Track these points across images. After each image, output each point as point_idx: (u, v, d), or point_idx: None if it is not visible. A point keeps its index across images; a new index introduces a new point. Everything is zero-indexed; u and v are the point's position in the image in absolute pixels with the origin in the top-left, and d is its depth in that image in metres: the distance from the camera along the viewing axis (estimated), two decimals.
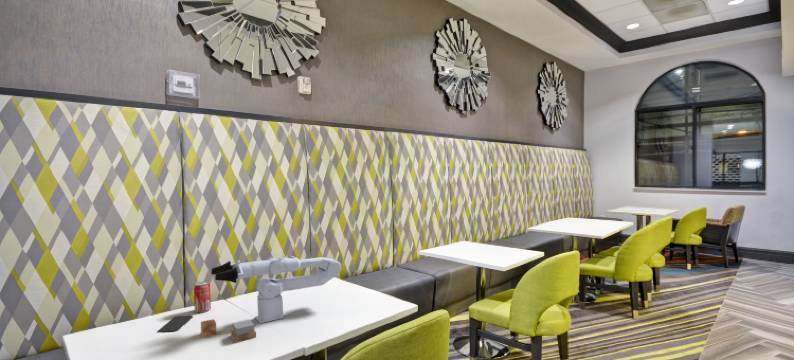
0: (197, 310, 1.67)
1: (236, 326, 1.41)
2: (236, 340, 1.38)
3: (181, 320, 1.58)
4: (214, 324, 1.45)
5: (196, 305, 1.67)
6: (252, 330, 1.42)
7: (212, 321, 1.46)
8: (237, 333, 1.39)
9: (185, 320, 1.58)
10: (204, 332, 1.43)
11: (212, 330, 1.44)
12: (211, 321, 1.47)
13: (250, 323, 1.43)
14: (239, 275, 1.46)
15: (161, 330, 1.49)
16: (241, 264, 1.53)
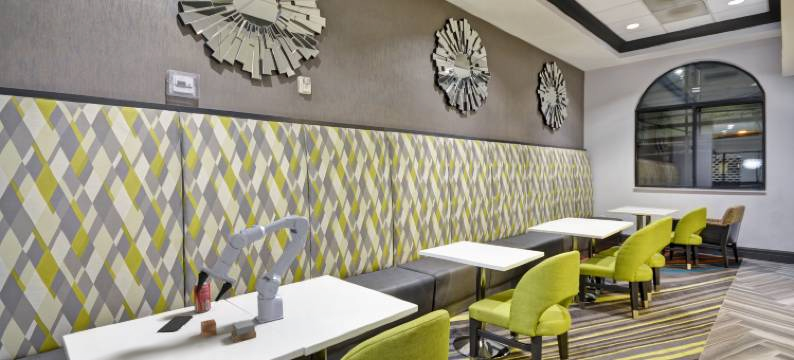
0: (197, 310, 1.67)
1: (237, 326, 1.41)
2: (236, 340, 1.38)
3: (181, 320, 1.58)
4: (214, 324, 1.45)
5: (196, 305, 1.67)
6: (253, 330, 1.42)
7: (212, 321, 1.46)
8: (238, 333, 1.39)
9: (185, 320, 1.58)
10: (204, 332, 1.43)
11: (212, 330, 1.44)
12: (211, 321, 1.47)
13: (251, 323, 1.44)
14: (234, 285, 1.48)
15: (161, 330, 1.49)
16: (220, 272, 1.46)
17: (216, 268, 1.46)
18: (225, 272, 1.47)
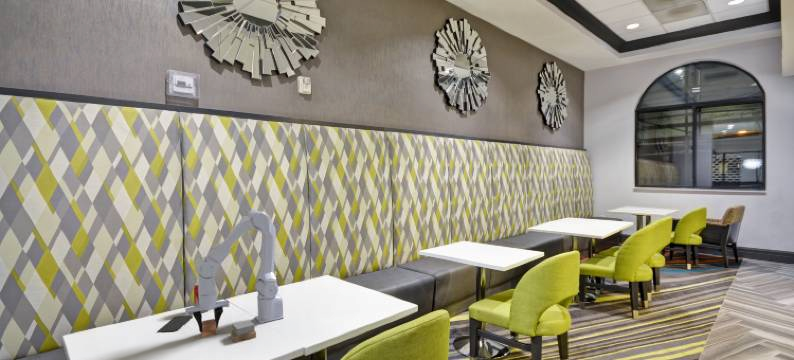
0: None
1: (236, 326, 1.41)
2: (236, 340, 1.38)
3: (181, 320, 1.58)
4: (214, 324, 1.45)
5: (196, 305, 1.67)
6: (252, 330, 1.42)
7: (212, 321, 1.46)
8: (238, 333, 1.39)
9: (185, 320, 1.58)
10: (204, 332, 1.43)
11: (212, 330, 1.44)
12: (211, 320, 1.47)
13: (250, 323, 1.44)
14: None
15: (161, 330, 1.49)
16: (211, 305, 1.44)
17: (205, 303, 1.43)
18: (215, 301, 1.45)
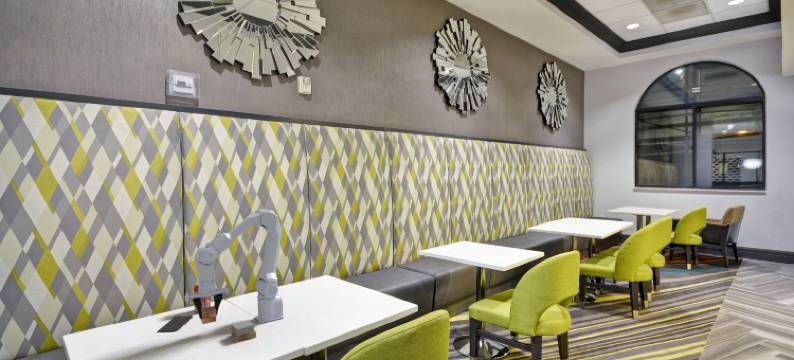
0: (197, 310, 1.67)
1: (236, 326, 1.41)
2: (236, 340, 1.38)
3: (181, 320, 1.58)
4: (214, 310, 1.45)
5: None
6: (252, 330, 1.42)
7: (212, 308, 1.46)
8: (237, 333, 1.39)
9: (185, 320, 1.58)
10: (204, 318, 1.43)
11: (212, 317, 1.44)
12: (210, 307, 1.47)
13: (250, 323, 1.44)
14: None
15: (161, 330, 1.49)
16: (211, 291, 1.43)
17: (204, 290, 1.42)
18: (214, 288, 1.45)
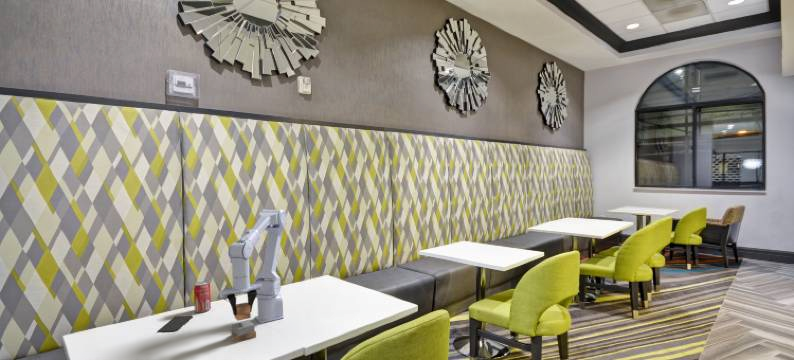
0: (197, 310, 1.67)
1: (236, 326, 1.40)
2: (236, 340, 1.38)
3: (181, 320, 1.58)
4: (248, 307, 1.42)
5: (196, 305, 1.67)
6: (252, 330, 1.42)
7: (246, 304, 1.43)
8: (238, 333, 1.39)
9: (185, 320, 1.58)
10: (238, 315, 1.40)
11: (247, 313, 1.42)
12: (244, 304, 1.44)
13: (250, 323, 1.43)
14: None
15: (161, 330, 1.49)
16: (245, 287, 1.41)
17: (239, 286, 1.40)
18: (249, 283, 1.42)
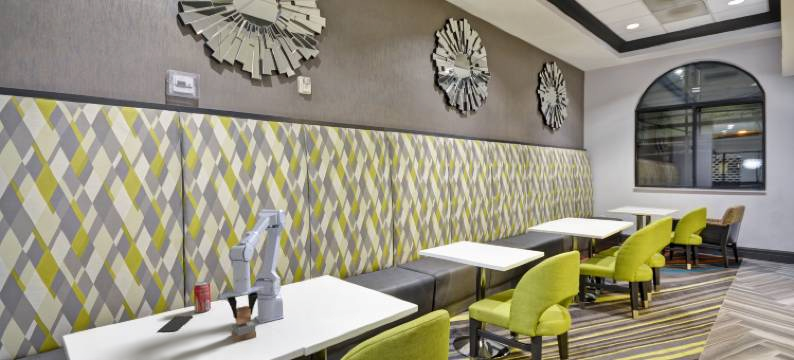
0: (197, 310, 1.67)
1: (237, 326, 1.41)
2: (236, 340, 1.39)
3: (181, 320, 1.58)
4: (248, 310, 1.42)
5: (196, 305, 1.67)
6: (253, 329, 1.42)
7: (246, 308, 1.43)
8: (239, 333, 1.39)
9: (185, 320, 1.58)
10: (239, 319, 1.40)
11: (247, 317, 1.42)
12: (245, 307, 1.44)
13: (250, 323, 1.44)
14: None
15: (161, 330, 1.49)
16: (246, 290, 1.41)
17: (240, 288, 1.40)
18: (249, 286, 1.42)
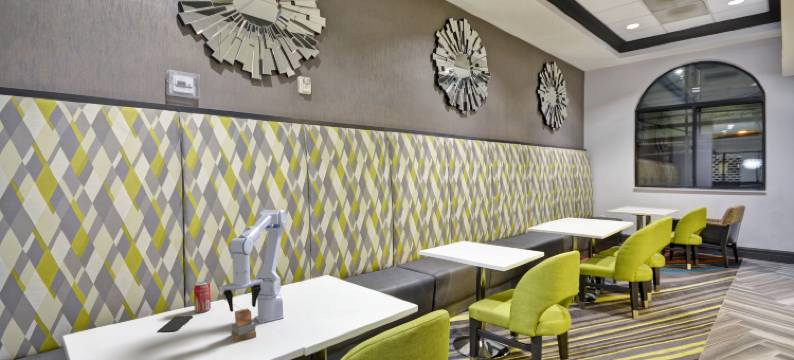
0: (197, 310, 1.67)
1: (237, 326, 1.41)
2: (236, 340, 1.39)
3: (181, 320, 1.58)
4: (249, 313, 1.42)
5: (196, 305, 1.67)
6: (253, 329, 1.43)
7: (247, 310, 1.43)
8: (239, 333, 1.39)
9: (185, 320, 1.58)
10: (240, 321, 1.40)
11: (248, 319, 1.42)
12: (245, 310, 1.44)
13: None
14: None
15: (161, 330, 1.49)
16: (246, 282, 1.41)
17: (240, 281, 1.40)
18: (249, 279, 1.42)
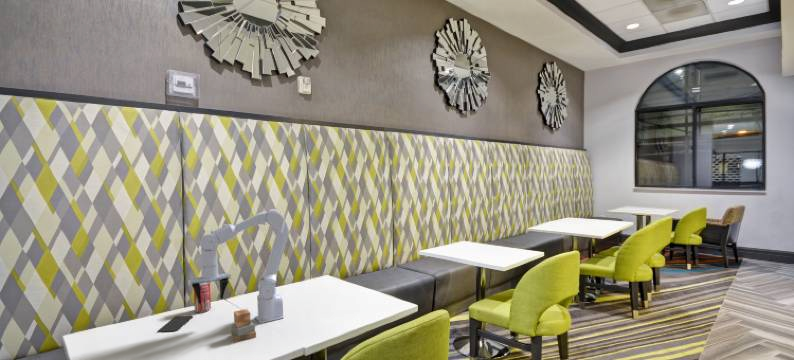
0: (197, 310, 1.67)
1: None
2: (236, 340, 1.39)
3: (181, 320, 1.58)
4: (248, 314, 1.42)
5: (196, 305, 1.67)
6: (253, 330, 1.43)
7: (246, 311, 1.43)
8: (239, 333, 1.39)
9: (185, 320, 1.58)
10: (239, 322, 1.40)
11: (247, 320, 1.42)
12: (244, 310, 1.44)
13: None
14: None
15: (161, 330, 1.49)
16: (213, 276, 1.49)
17: (207, 274, 1.48)
18: (217, 273, 1.51)
